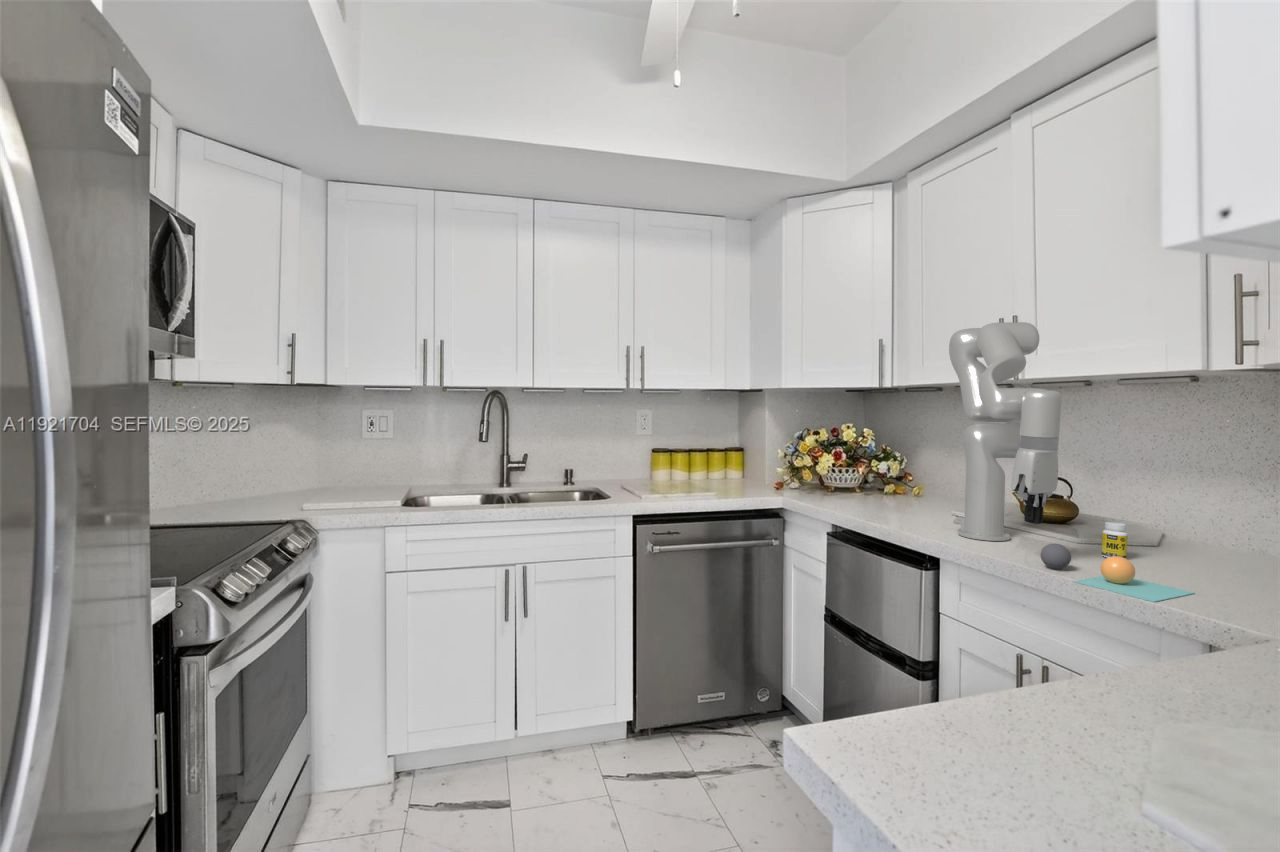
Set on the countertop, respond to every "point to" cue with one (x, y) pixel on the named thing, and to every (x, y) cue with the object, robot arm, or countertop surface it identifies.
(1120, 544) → the supplement bottle
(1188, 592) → the teal mark
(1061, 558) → the grey egg-shaped ball
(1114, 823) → the countertop surface
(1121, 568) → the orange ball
